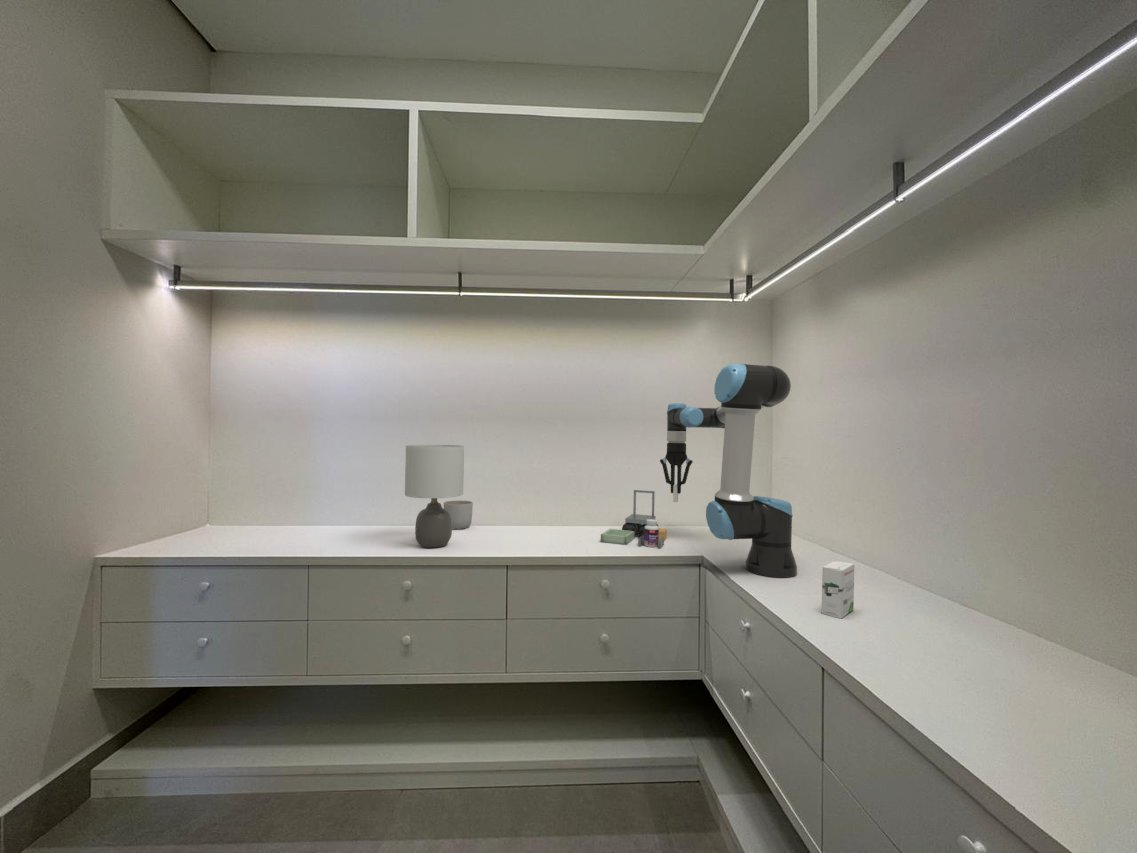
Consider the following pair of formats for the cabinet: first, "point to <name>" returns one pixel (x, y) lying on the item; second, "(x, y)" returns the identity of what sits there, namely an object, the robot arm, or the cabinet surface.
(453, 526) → the planter
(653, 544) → the pill bottle
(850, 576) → the ink box
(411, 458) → the lamp
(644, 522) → the trolley
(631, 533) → the tray
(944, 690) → the cabinet surface
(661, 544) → the pin bracket
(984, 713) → the cabinet surface
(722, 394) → the robot arm
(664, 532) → the block
